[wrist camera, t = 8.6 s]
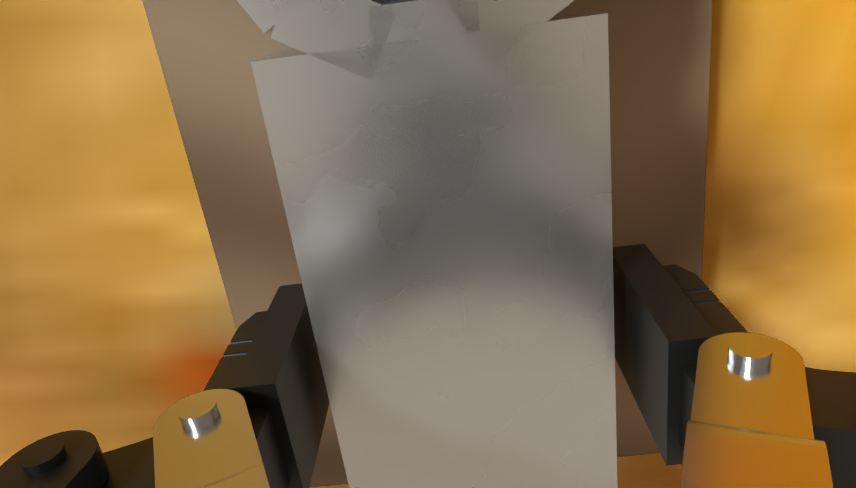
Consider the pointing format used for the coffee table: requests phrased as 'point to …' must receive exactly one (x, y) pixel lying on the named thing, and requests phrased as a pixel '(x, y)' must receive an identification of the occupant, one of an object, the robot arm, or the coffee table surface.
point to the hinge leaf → (452, 232)
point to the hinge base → (262, 201)
